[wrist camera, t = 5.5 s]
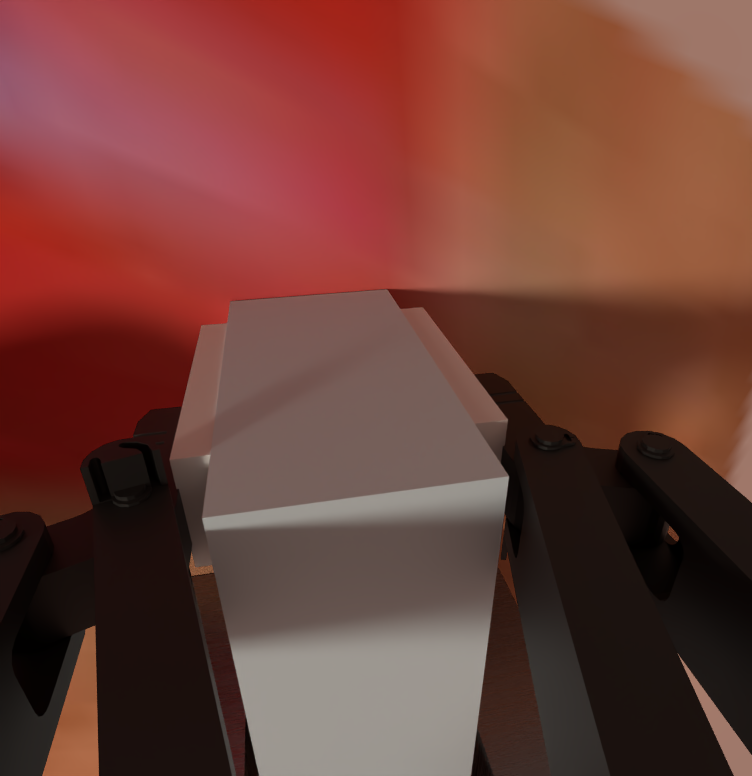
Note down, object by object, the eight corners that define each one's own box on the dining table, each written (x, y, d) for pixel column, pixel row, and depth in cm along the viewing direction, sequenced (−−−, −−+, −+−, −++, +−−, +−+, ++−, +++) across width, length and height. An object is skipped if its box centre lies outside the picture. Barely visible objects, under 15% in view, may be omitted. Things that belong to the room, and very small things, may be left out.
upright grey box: (230, 301, 17) (202, 518, 8) (387, 289, 18) (508, 476, 9) (266, 539, 22) (271, 833, 13) (388, 521, 23) (469, 788, 14)
